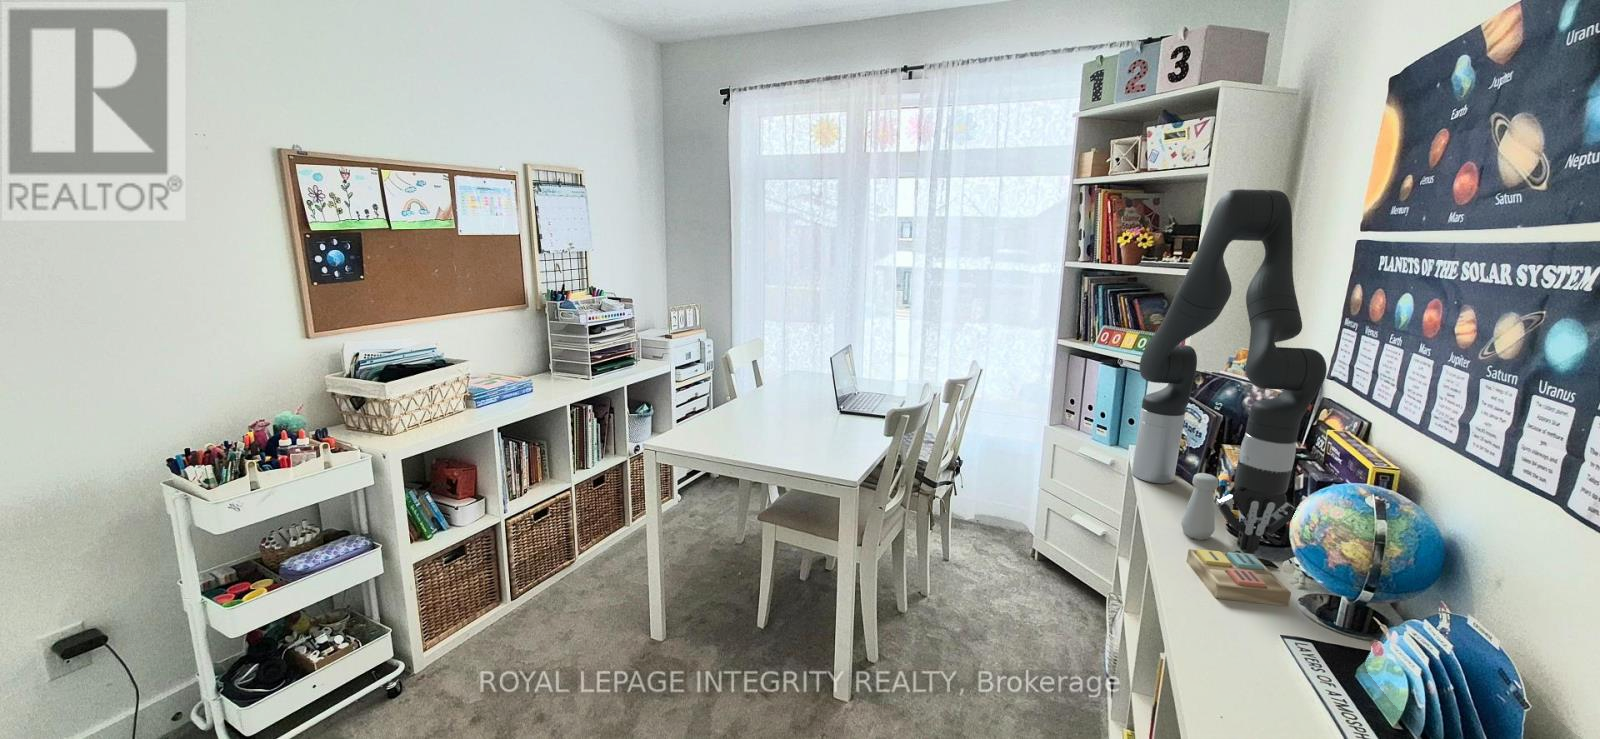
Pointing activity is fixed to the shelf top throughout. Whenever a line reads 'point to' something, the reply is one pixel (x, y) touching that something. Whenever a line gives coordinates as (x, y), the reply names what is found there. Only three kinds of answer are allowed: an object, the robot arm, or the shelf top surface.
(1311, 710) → the shelf top surface
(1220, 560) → the tile
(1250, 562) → the tile
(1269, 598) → the button board
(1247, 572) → the tile
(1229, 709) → the shelf top surface
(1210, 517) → the salt shaker
